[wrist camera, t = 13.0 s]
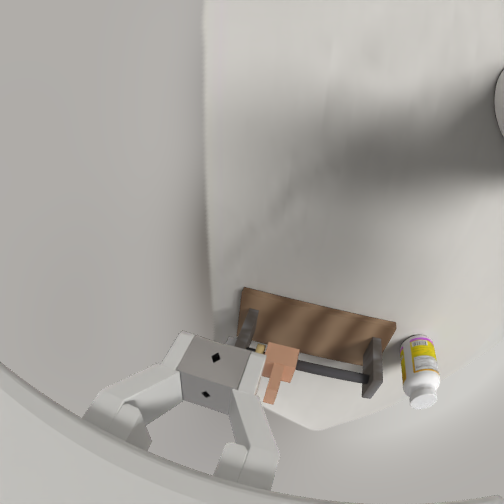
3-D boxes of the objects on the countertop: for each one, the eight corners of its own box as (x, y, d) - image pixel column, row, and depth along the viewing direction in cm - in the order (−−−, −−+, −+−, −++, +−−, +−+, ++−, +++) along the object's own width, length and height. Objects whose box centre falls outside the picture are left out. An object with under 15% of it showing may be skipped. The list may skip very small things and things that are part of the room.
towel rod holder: (395, 322, 49) (400, 372, 40) (373, 361, 55) (372, 408, 46) (244, 286, 53) (223, 331, 44) (238, 330, 59) (220, 374, 50)
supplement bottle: (412, 361, 53) (417, 416, 42) (392, 347, 52) (395, 404, 42) (439, 343, 49) (449, 399, 38) (420, 327, 48) (429, 385, 38)
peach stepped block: (299, 349, 47) (289, 393, 40) (294, 365, 50) (284, 407, 42) (268, 341, 48) (254, 384, 41) (264, 357, 50) (251, 399, 43)
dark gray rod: (376, 365, 46) (376, 382, 43) (368, 377, 48) (367, 394, 45) (230, 331, 49) (223, 347, 46) (229, 345, 51) (222, 361, 48)
